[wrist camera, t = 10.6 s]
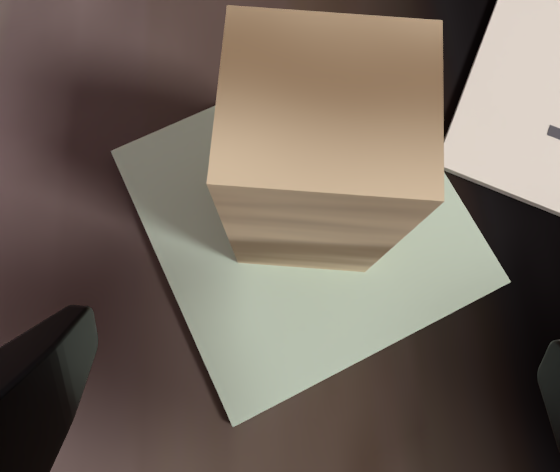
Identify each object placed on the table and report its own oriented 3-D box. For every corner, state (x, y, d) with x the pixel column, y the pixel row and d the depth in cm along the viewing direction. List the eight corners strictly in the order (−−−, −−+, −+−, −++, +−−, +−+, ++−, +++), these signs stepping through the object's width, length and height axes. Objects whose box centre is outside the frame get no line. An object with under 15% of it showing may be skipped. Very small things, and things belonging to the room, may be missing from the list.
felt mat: (233, 425, 18) (232, 427, 17) (113, 154, 20) (110, 151, 20) (506, 283, 19) (510, 281, 19) (362, 46, 22) (364, 40, 21)
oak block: (364, 272, 19) (444, 201, 10) (237, 262, 19) (206, 184, 10) (368, 167, 20) (442, 20, 11) (247, 158, 20) (226, 5, 11)
